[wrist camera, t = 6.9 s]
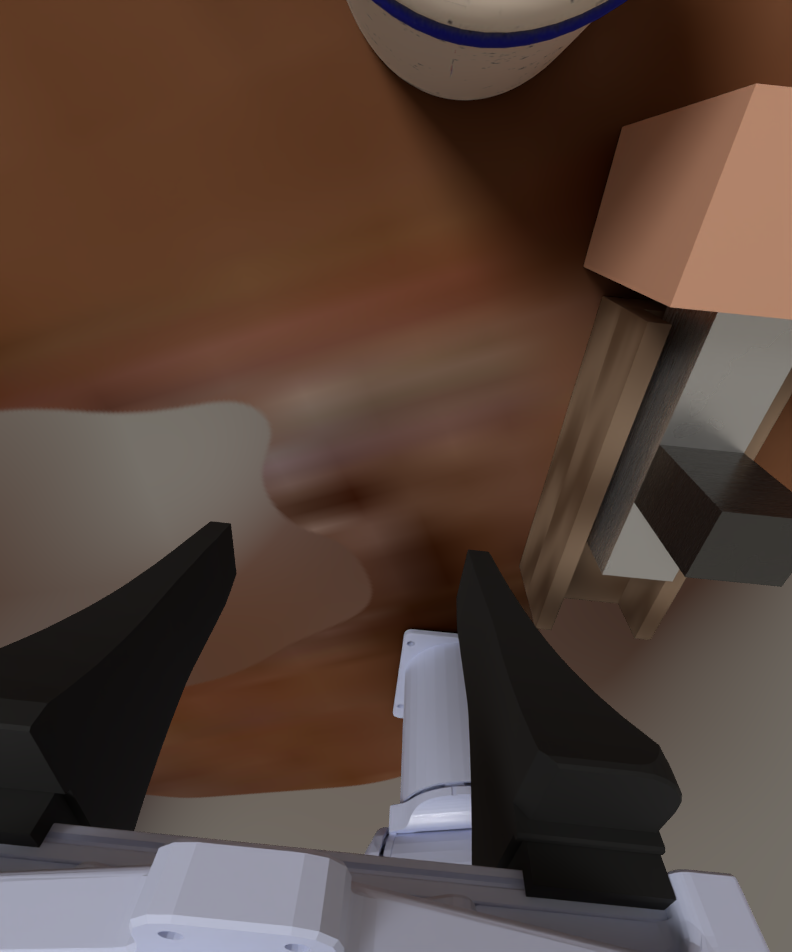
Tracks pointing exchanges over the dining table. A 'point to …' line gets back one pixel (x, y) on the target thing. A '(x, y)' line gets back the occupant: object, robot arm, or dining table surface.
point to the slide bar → (701, 460)
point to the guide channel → (604, 470)
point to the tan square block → (704, 206)
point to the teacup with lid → (472, 40)
